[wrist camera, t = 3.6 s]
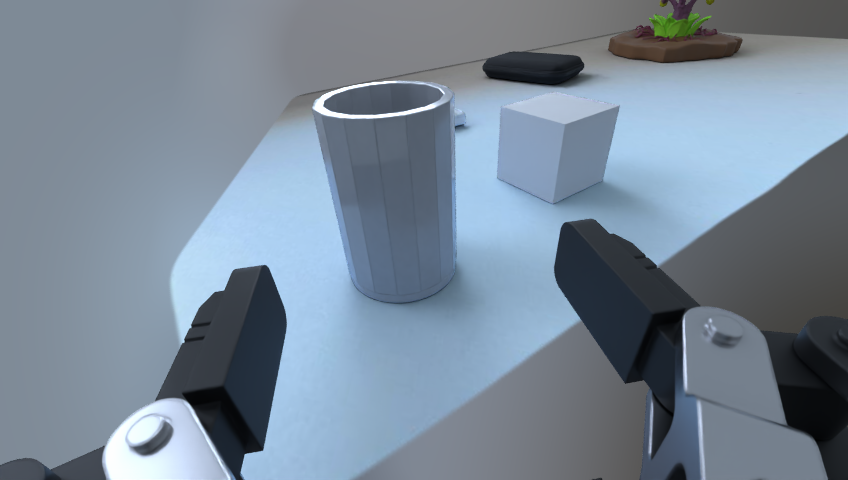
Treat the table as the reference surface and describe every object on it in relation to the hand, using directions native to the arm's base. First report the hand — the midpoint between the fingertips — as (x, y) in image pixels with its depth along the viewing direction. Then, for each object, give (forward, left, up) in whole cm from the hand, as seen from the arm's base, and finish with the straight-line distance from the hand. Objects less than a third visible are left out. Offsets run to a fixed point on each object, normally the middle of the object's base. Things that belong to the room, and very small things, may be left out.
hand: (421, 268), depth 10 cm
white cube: (+5, +22, -8) cm, 24 cm away
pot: (-4, +9, -8) cm, 13 cm away
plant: (+29, +80, -8) cm, 86 cm away
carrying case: (+4, +61, -8) cm, 62 cm away
